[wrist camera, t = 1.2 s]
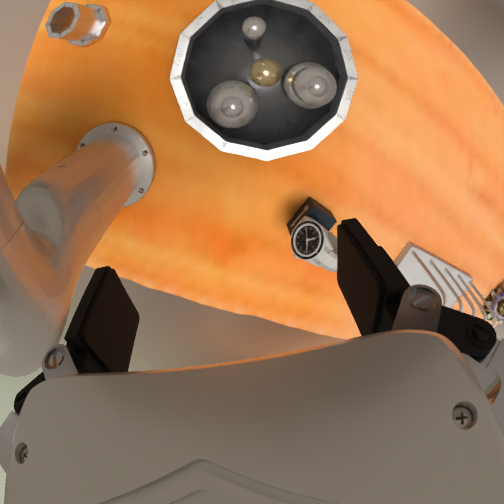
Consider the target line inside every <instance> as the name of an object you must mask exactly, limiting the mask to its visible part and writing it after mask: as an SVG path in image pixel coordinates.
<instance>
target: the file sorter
mask: <svg viewBox="0 0 504 504" xmlns="http://www.w3.org/2000/svg"><path fill="white" fill-rule="evenodd" d="M394 263H395V265H396V266H397V267H398V269H399V270H400V272H401V273H402V274H403V276H404V277H405V279H406V280H407V281H408V283H409V284H410V286H412V285H417V284H422V285H427V286H430V287H432V288H433V289H435V290H436V291H437V292H438V293H439V294H440V296H441V299H442V305H443V306H445V307H448V308H451V307H452V306H453V305H454V304H455V302H456V301H457V300H458V302H459V305H460V310H459V311H460V312H463V304H462V301H461V299H460V296H461V295H462V294H463V296H464V297H465V299H466V300H467V302H468V303H469V305H470V306H471V308H472V311H473V315H472V316H475V317H476V311H475V307H474V305H473V304H472V302H471V301H470V299H469V298H468V296H467V295H466V294H465V292H464V291H465V290H466V289H467V290H468V292H469V293H470V294H471V296H472V297H473V299H474V300H475V301H476V303H477V304H478V306H479V307H480V309H481V311H482V312H483V315H484V320H485V321H486V320H487V315H486V312H485V310H484V309H483V307H482V305H481V304H480V303H479V301H478V300H477V298H476V297H475V295H474V294H473V293H472V291H471V290H470V288H469V287H468V286H469V285H471V286H472V288H473V289H474V290H475V291H476V293H477V294H478V295H479V296H480V298H481V299H482V300H483V302H484V303H485V304H486V306H487V307H488V309H489V310H490V311H491V313H492V315H493V317H494V321H493V324H492V327H493V328H494V326H495V324H496V315H495V313H494V311H493V310H492V308H491V307H490V306H489V304H488V303H487V302H486V300H485V299H484V298H483V296H482V295H481V294H480V292H479V291H478V290H477V289H476V287H475V286H474V285H473V284H472V281H473V279H472V277H471V276H470V275H469V274H467V273H465V272H463V271H461V270H460V269H458V268H456V267H454V266H453V265H451V264H449V263H447V262H446V261H444V260H442V259H440V258H438V257H437V256H435V255H433V254H431V253H429V252H428V251H426V250H424V249H422V248H420V247H418V246H416V245H414V244H413V243H411V242H408V243H407V244H406V246H405V247H404V249H403V250H402V252H401V253H400V255H399V256H398V257H397V259H396V260H395V262H394Z"/></svg>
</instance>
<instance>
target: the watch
mask: <svg viewBox="0 0 504 504" xmlns="http://www.w3.org/2000/svg"><path fill="white" fill-rule="evenodd" d="M336 222H337V221H336V219H335V218H334V216H333V214H332V213H331V211H329V210H328V209H326V208H325V207H324V206H322V205H321V204H319V203H318V202H317V201H315V200H314V199H312V198H311V197H309V198H308V199H307V200H306V201H305V203H304V204H303V205H302V206H301V208H300V209H299V210H298V211H297V212H296V214H295V215H294V216H293V217H292V219H291V220H290V221H289V222H288V223H287V227H288V230H289V233H290V235H291V247H292V250H293V252H294V257H295V258H297V259H298V258H300V259H302V260H306V261H307V262H309V263H311V264H313V265H315V266H318V265H319V266H321V267H322V268H324V269H326V270H329V271H331V272H336V271H337V237H336V236H334V235H333V234H332V233H330V232H329V230H330V229H331V228H332V226H333V225H334V224H335V223H336Z"/></svg>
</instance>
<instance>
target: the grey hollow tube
mask: <svg viewBox="0 0 504 504" xmlns="http://www.w3.org/2000/svg"><path fill="white" fill-rule="evenodd" d="M110 23H111V20H110V17H109V14H108V11H107V8H105V7H102V6H97V5H92V4H87V5H85V6H83V5H80V4H77V3H71V2H64V3H62V4H61V5H60V6H58V7H57V8H55V9H54V10H53V11H52V12H51V14H50V16H49V18H48V21H47V23H46V29H47V33H48V37H53V38H58V39H67V40H68V41H69V43H71V44H75V45H79V46H84V47H88V46H90V45H92V44H93V43H95V42H97V41H98V40H100V39H102V38H103V37H104V35H105V33H106V31H107V29H108V27H109V25H110Z"/></svg>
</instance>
